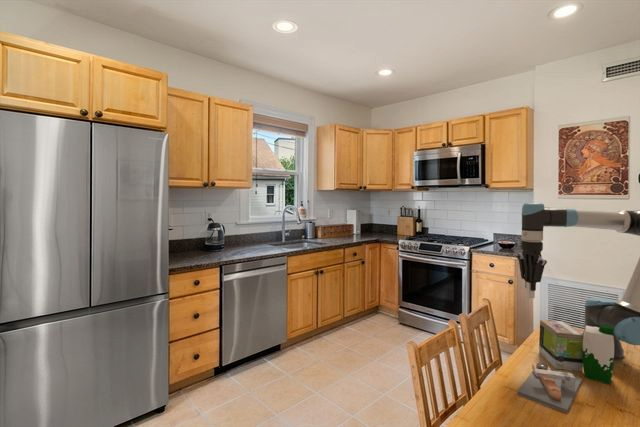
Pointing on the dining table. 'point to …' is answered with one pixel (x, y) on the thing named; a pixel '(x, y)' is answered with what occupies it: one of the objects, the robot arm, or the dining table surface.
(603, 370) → the milk carton
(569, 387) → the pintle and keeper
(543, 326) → the tea box
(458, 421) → the dining table surface
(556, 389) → the link
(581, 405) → the dining table surface
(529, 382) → the board
